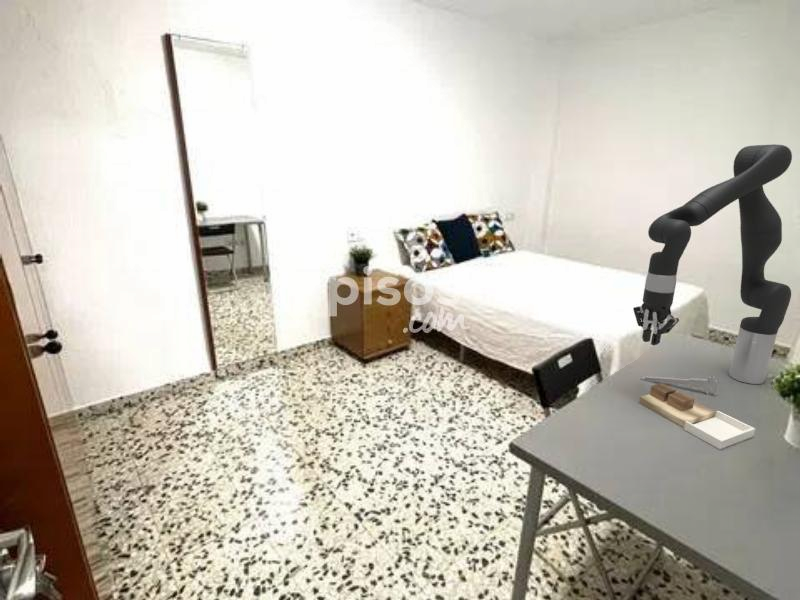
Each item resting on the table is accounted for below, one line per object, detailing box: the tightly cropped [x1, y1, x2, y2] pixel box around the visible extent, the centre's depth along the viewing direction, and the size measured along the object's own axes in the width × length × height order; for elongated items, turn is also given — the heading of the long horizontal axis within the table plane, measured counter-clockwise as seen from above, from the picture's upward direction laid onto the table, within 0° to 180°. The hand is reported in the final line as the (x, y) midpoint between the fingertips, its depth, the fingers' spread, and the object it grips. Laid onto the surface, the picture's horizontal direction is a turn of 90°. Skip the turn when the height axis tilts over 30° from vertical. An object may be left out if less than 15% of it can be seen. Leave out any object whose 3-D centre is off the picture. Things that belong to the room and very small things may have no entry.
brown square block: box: [649, 382, 677, 402], centre depth 123 cm, size 4×4×3 cm
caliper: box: [640, 375, 719, 397], centre depth 132 cm, size 20×1×6 cm, turn 55°
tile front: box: [667, 391, 695, 411], centre depth 118 cm, size 4×4×3 cm
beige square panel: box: [638, 393, 716, 429], centre depth 120 cm, size 12×14×2 cm
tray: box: [683, 410, 756, 450], centre depth 109 cm, size 13×9×2 cm
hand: (650, 342), depth 125 cm, fingers closed
